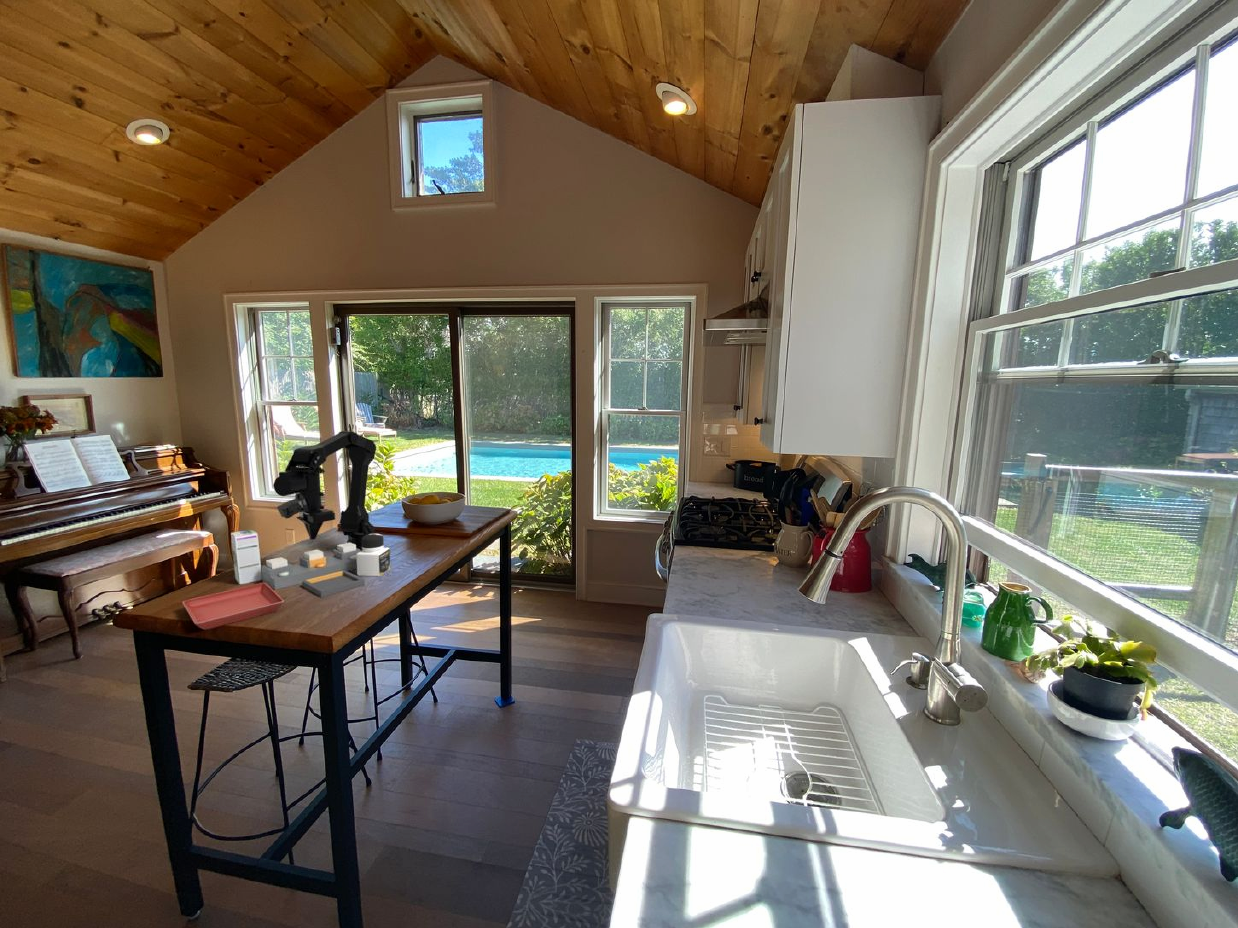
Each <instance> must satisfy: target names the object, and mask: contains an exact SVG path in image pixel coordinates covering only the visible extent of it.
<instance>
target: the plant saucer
mask: <svg viewBox="0 0 1238 928" xmlns="http://www.w3.org/2000/svg"><path fill="white" fill-rule="evenodd" d="M284 601H285V599H283V598H282V597H281V596H280V595H279V594H278V593H277V592H276V590H274V589H273V588H271V587H270V586H268V585H267V584H266V583H263V582H260V583H256V584H255V583H254V584H251V585H247V586H242V587H238V588H234V589H229V590H226V591H220V592H216V593H212V594H208V595H202V596H198V597H194V598H190V599H186V600H183V601H182V605H183V606H184V608H185V609H186V612H187V613H188V615H189V616H190V618H191V620H192V622H193V623H194V625H196V626H197V627H198V628H199V629H202V630H204V631H205V630H210V629H213V628H214V629H215V628H217V627H221V626H226V625H229V623H230V624H233V622H234V623H237V622H240V621H241V622H242V621H245V620H249V619H253V618H257V617H260V616H265V615H269V614H272V613H275V612H276V611H277V610H278V609H279V608H280V607H281V605H282V604H283V603H284ZM252 617H253V618H252ZM225 624H226V625H225Z"/></svg>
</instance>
